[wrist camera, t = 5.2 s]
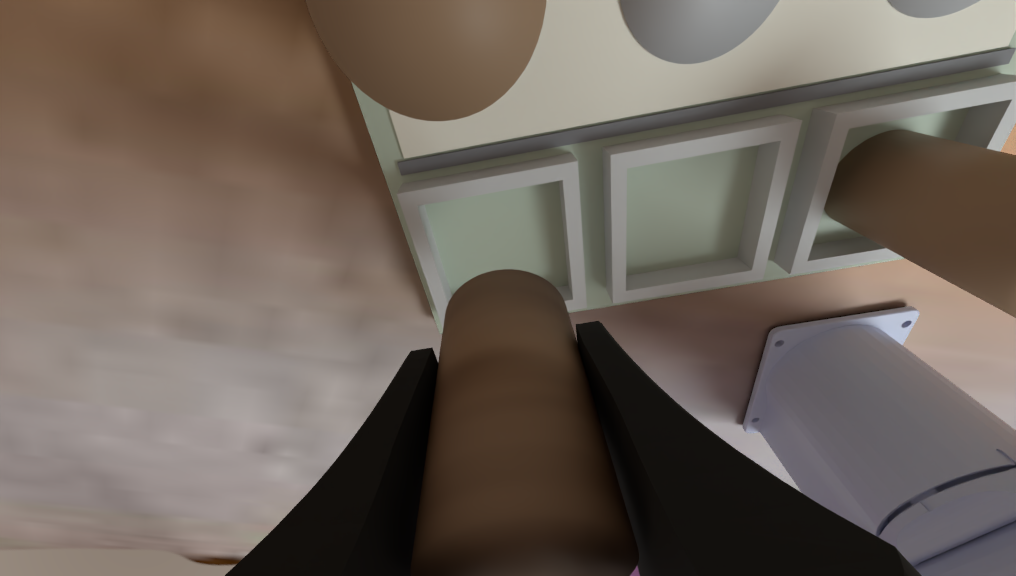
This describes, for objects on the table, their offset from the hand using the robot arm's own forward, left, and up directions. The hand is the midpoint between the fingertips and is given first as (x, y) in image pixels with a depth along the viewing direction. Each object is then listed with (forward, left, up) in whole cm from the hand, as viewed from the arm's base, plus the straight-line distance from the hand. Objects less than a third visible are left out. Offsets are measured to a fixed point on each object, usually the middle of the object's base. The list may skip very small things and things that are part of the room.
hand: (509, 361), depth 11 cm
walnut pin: (0, 0, -2) cm, 2 cm away
